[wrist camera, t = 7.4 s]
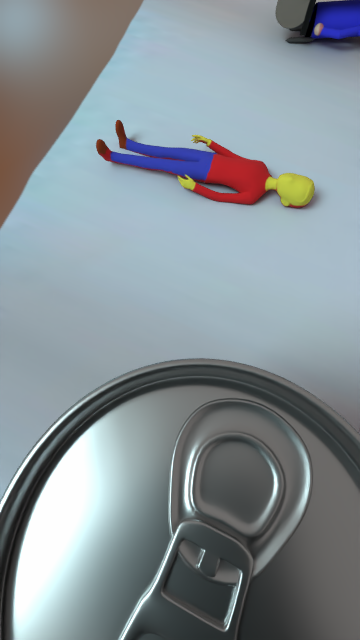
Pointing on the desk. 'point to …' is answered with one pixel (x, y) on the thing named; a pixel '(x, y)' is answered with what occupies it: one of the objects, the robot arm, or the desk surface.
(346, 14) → the figurine character
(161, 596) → the can
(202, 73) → the desk surface
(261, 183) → the character figure
